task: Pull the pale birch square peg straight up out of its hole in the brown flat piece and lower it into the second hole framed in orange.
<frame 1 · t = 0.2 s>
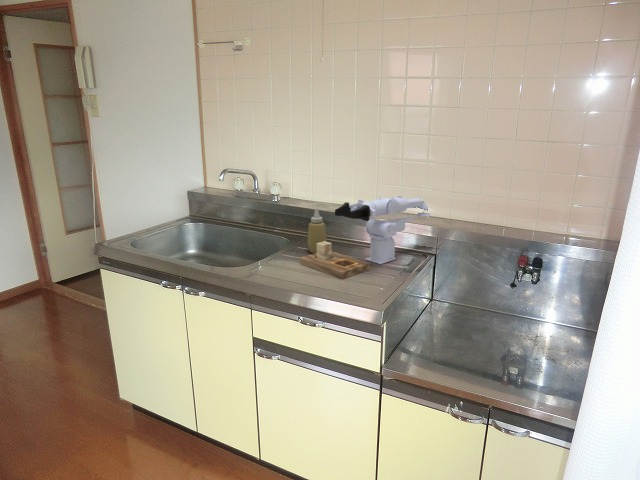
hand: (342, 214, 165), 21 cm above the table, tool horizontal, fingers open, 7 cm apart
squeeze bottle: (317, 252, 195), on the table
brown flat piece: (334, 266, 177), on the table
peg: (324, 263, 181), resting in brown flat piece
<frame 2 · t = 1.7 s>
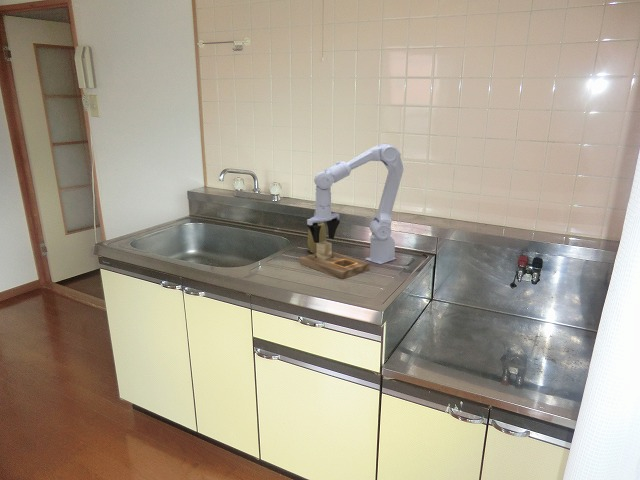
hand: (323, 240, 178), 9 cm above the table, tool pointing down, fingers open, 7 cm apart
nothing on the table moved.
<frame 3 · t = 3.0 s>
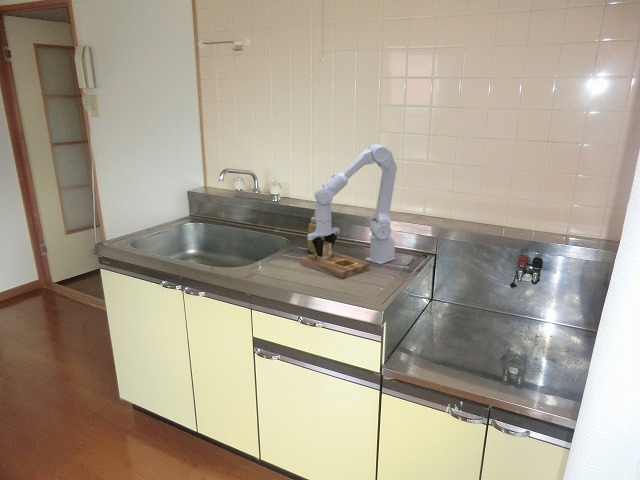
hand: (324, 254, 180), 3 cm above the table, tool pointing down, fingers closed on peg, 4 cm apart
peg: (324, 263, 180), resting in brown flat piece, touching gripper
everything else where it was.
when the fingers open (4 cm above the table, at t = 7.4 s): peg stays where it is, resting in brown flat piece.
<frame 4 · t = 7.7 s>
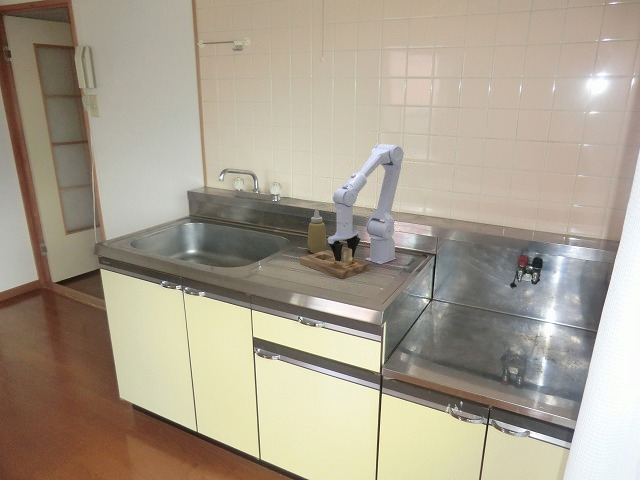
hand: (344, 258, 171), 4 cm above the table, tool pointing down, fingers open, 6 cm apart
peg: (344, 270, 173), resting in brown flat piece
everything else where it was.
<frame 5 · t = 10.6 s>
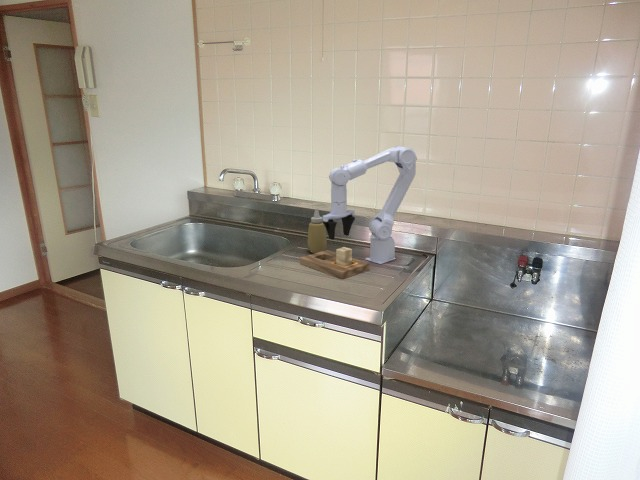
hand: (339, 237, 177), 10 cm above the table, tool pointing down, fingers open, 7 cm apart
nothing on the table moved.
at the end: peg 0.3 cm from the target spot on the brown flat piece, point 0.0 cm above the brown flat piece's base; peg tilted 0°; the gripper is holding nothing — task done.
